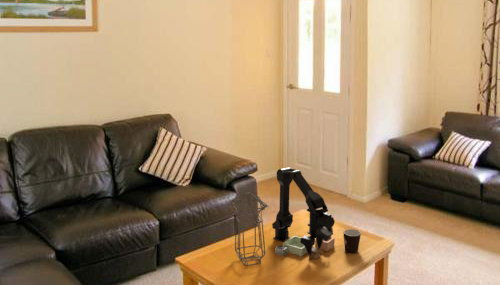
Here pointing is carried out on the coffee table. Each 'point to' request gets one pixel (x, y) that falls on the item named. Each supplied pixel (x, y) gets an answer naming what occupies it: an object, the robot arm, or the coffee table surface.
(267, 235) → the coffee table surface
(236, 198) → the geometric lantern
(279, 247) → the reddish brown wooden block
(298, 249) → the bin
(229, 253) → the coffee table surface
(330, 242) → the open square box
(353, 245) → the coffee mug
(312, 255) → the walnut block
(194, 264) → the coffee table surface
